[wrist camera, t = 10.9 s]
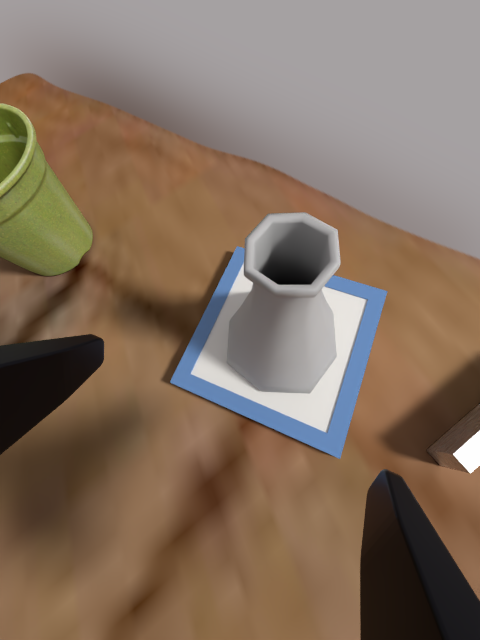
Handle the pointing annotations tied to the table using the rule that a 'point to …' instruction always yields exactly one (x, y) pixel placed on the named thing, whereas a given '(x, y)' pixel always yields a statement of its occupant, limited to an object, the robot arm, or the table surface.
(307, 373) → the flask
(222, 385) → the white tile
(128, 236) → the table surface
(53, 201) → the plant pot
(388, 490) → the robot arm
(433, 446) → the grey u-shaped bracket
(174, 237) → the table surface
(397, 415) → the table surface
